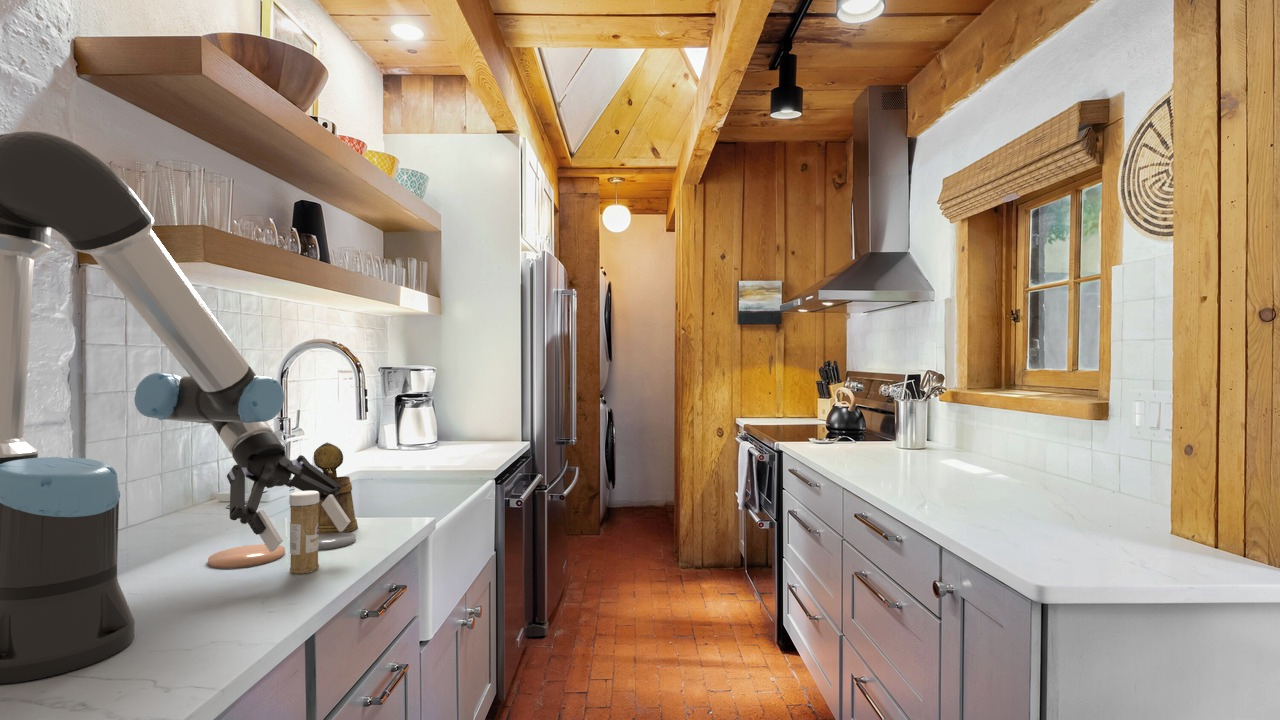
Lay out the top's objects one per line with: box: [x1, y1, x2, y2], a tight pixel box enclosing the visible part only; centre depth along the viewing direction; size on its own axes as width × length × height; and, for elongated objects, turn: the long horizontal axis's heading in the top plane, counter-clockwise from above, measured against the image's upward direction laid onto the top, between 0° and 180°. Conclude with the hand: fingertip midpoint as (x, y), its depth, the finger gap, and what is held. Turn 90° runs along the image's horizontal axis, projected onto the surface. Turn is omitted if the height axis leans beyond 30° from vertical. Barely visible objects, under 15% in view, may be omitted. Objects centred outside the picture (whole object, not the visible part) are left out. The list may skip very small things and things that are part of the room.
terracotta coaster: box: [207, 543, 286, 569], centre depth 116 cm, size 12×12×1 cm
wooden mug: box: [313, 442, 359, 534], centre depth 138 cm, size 9×14×18 cm, turn 37°
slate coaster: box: [318, 532, 357, 551], centre depth 126 cm, size 10×10×1 cm
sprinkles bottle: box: [288, 490, 320, 575], centre depth 109 cm, size 5×5×14 cm
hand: (312, 536), depth 108 cm, fingers open, 13 cm apart
